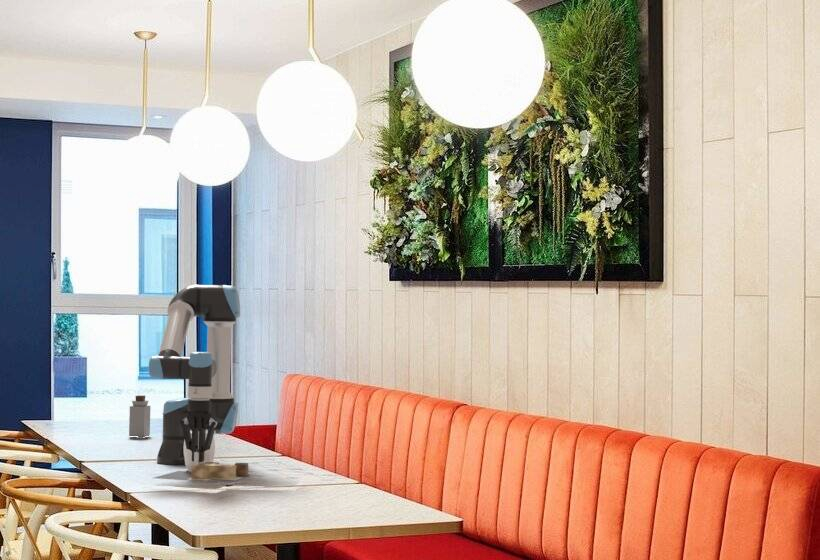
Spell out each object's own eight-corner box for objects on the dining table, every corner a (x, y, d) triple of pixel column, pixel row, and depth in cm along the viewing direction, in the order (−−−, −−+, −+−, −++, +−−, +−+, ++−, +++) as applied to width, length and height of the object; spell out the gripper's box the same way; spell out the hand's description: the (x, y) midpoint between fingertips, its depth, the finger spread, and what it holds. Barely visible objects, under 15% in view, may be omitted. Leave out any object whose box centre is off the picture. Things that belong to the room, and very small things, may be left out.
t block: (190, 478, 358) (191, 466, 358) (207, 473, 369) (207, 461, 369) (225, 481, 354) (225, 468, 354) (241, 476, 366) (241, 463, 366)
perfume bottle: (134, 436, 488) (136, 394, 488) (149, 436, 487) (150, 395, 487) (128, 437, 481) (130, 396, 482) (143, 438, 480) (144, 396, 481)
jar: (176, 476, 375) (177, 431, 375) (193, 472, 384) (194, 428, 385) (204, 478, 371) (205, 432, 371) (220, 474, 380) (221, 430, 381)
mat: (152, 481, 358) (152, 477, 358) (178, 474, 375) (178, 470, 375) (229, 486, 351) (229, 482, 351) (252, 478, 368) (252, 475, 368)
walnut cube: (234, 476, 365) (234, 464, 365) (236, 474, 369) (236, 462, 369) (246, 476, 365) (246, 464, 365) (248, 475, 369) (248, 462, 369)
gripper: (176, 399, 363) (174, 472, 362) (212, 400, 359) (210, 474, 358) (186, 397, 370) (184, 469, 369) (222, 399, 366) (220, 471, 365)
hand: (197, 471), depth 364 cm, fingers closed
